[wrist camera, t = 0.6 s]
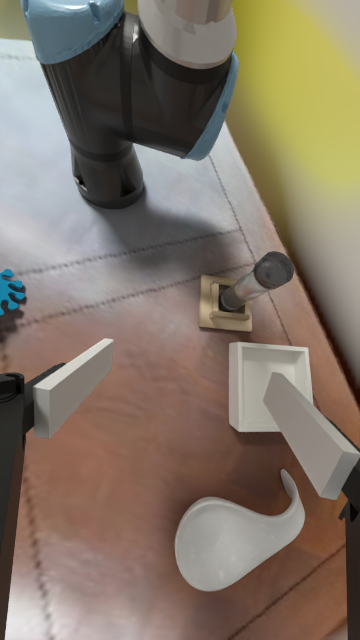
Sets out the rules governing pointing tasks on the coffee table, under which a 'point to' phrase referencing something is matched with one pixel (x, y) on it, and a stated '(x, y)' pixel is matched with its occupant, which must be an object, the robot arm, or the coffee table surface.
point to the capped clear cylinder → (257, 281)
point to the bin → (262, 381)
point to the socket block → (213, 315)
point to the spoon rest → (232, 538)
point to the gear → (9, 291)
